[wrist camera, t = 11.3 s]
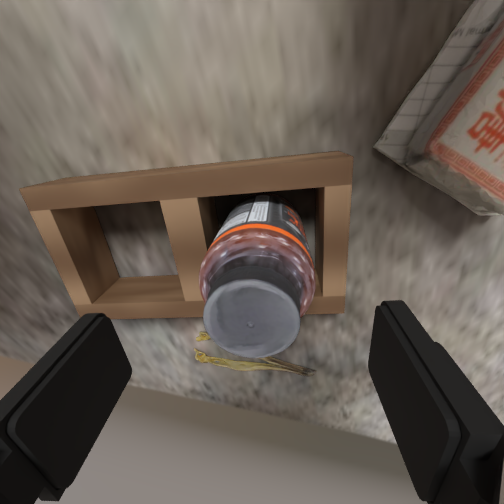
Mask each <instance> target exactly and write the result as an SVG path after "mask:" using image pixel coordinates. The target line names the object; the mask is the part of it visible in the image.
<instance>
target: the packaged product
mask: <svg viewBox="0 0 504 504" xmlns="http://www.w3.org/2000/svg"><path fill="white" fill-rule="evenodd" d="M373 148H375V149H376V150H378V151H379V152H381V153H382V154H384V155H385V156H387V157H388V158H390V159H391V160H393V161H394V162H396V163H397V164H399V165H400V166H401V167H403V168H404V169H406V170H407V171H409V172H410V173H412V174H413V175H415V176H417V177H418V178H420V179H422V180H424V181H425V182H427V183H429V184H431V185H432V186H434V187H436V188H438V189H439V190H441V191H443V192H445V193H446V194H448V195H450V196H451V197H453V198H454V199H455V200H457V201H458V202H460V203H461V204H463V205H464V206H466V207H467V208H469V209H470V210H472V211H473V212H474V213H476V214H477V215H479V216H485V215H501V214H503V215H504V0H475V1H474V2H473V3H472V5H471V6H470V7H469V8H468V10H467V11H466V12H465V14H464V15H463V17H462V18H461V20H460V21H459V23H458V24H457V26H456V28H455V29H454V30H453V31H452V33H451V34H450V35H449V37H448V39H447V40H446V42H445V44H444V45H443V47H442V49H441V50H440V52H439V54H438V55H437V57H436V59H435V60H434V62H433V63H432V65H431V66H430V67H429V68H428V70H427V71H426V72H425V74H424V75H423V76H422V78H421V79H420V80H419V82H418V83H417V84H416V85H415V87H414V88H413V89H412V91H411V92H410V93H409V95H408V96H407V98H406V99H405V101H404V102H403V104H402V105H401V107H400V108H399V110H398V111H397V113H396V114H395V116H394V117H393V119H392V120H391V122H390V123H389V125H388V126H387V128H386V129H385V131H384V133H383V134H382V136H381V137H380V139H379V140H378V141H377V143H376V144H375V145H374V146H373Z"/></svg>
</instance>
